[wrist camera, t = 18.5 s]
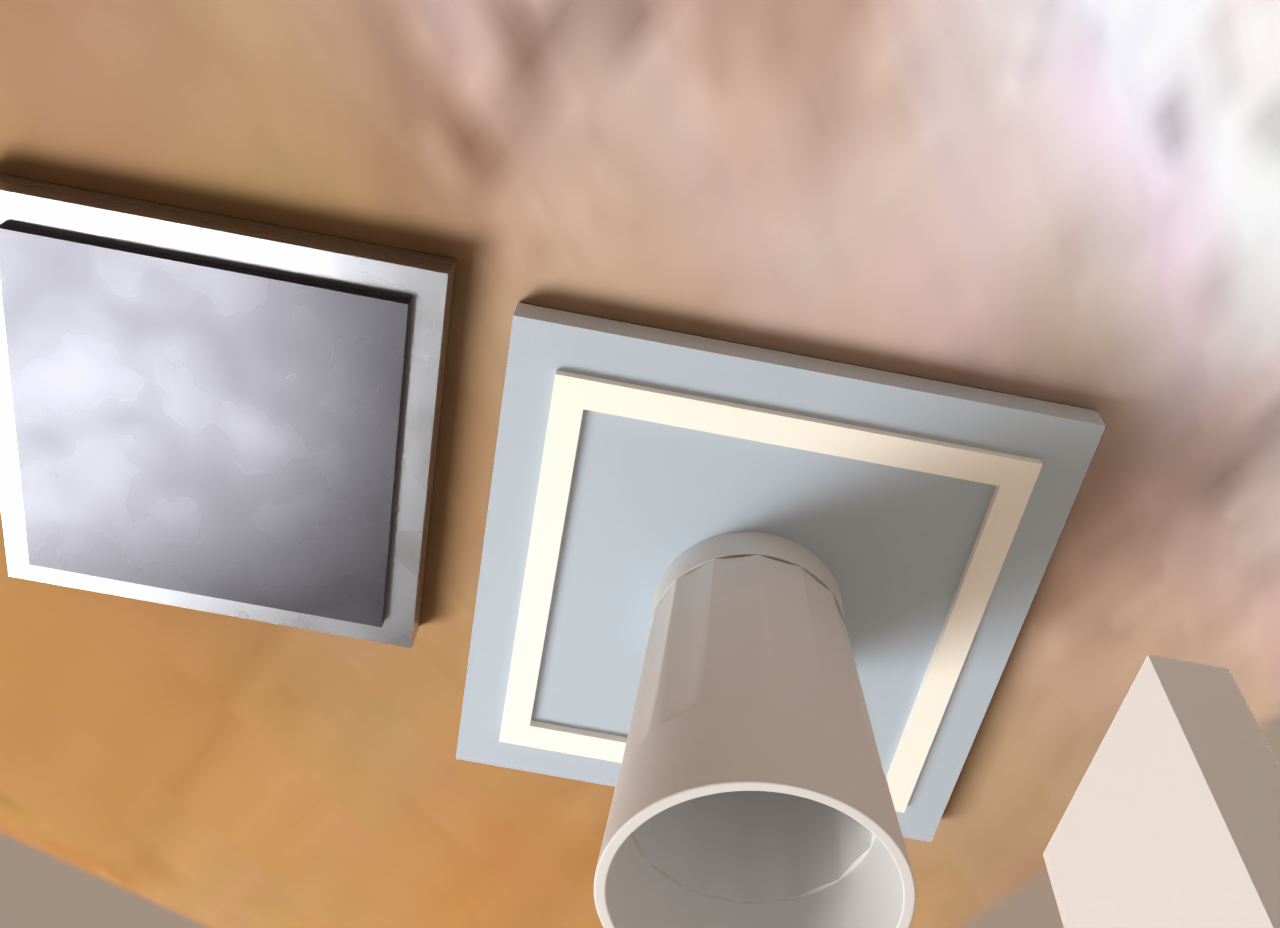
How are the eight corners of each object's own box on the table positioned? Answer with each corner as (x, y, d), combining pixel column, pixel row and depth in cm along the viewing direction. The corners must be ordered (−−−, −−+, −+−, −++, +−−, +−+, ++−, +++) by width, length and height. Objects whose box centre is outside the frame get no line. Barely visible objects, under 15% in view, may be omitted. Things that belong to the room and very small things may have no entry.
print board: (460, 739, 46) (454, 764, 44) (518, 302, 37) (511, 319, 35) (927, 821, 46) (932, 848, 45) (1097, 410, 37) (1108, 431, 36)
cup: (803, 472, 38) (830, 737, 27) (906, 653, 41) (966, 952, 31) (584, 568, 40) (533, 846, 30) (698, 732, 43) (688, 1036, 33)
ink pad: (26, 556, 43) (2, 583, 41) (-15, 170, 36) (-44, 187, 34) (418, 626, 43) (408, 655, 42) (456, 259, 36) (445, 278, 35)
